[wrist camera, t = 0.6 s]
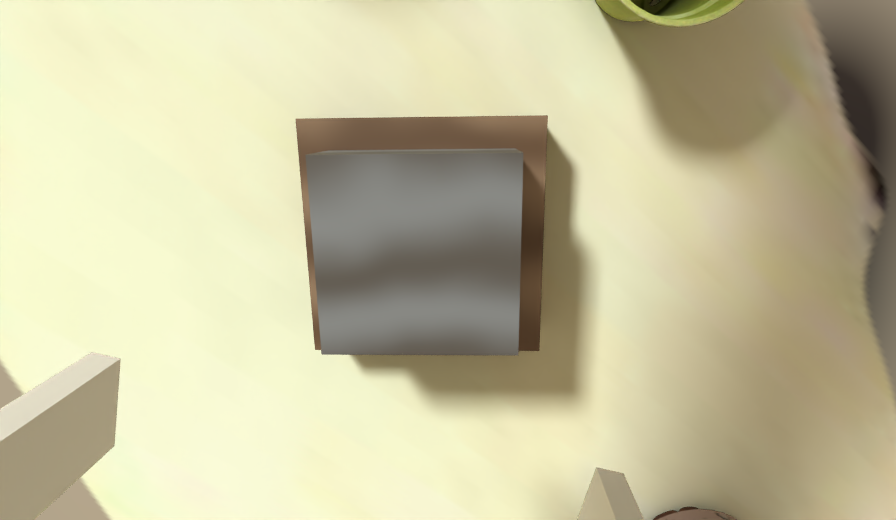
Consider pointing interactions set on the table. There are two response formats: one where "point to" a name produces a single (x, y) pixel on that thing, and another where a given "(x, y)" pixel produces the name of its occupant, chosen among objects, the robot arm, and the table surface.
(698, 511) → the flowerpot
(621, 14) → the plant pot
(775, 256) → the table surface
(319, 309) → the pedestal
